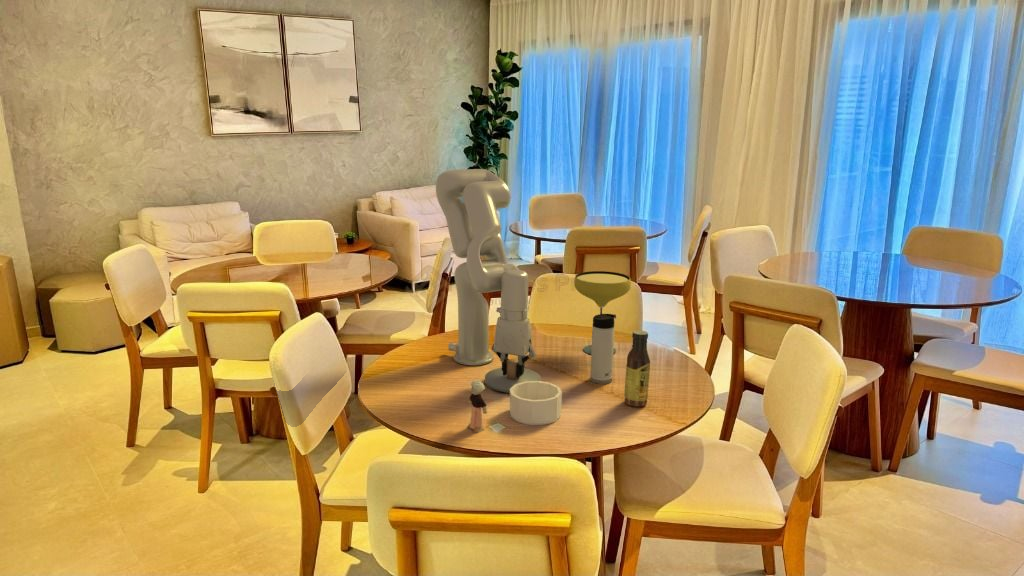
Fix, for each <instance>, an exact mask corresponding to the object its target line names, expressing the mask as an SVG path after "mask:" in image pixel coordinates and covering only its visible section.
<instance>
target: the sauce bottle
mask: <svg viewBox="0 0 1024 576" xmlns="http://www.w3.org/2000/svg"><path fill="white" fill-rule="evenodd" d="M648 339H649V333H648V332H647V331H645V330H634V331H632V345H631V349H630V350H629V352H628V353H627V357H626V365H625V379H624V403H625V404H626V405H628V406H631V407H634V408H635V407H644V406H646V405H647V403H648V400H649V399H648V398H649V385H650V384H649V383H650V372H651V371H650V370H651V360H650V356H649V353H648V352H649V351H648V349H647V348H648V345H647V343H648Z"/></svg>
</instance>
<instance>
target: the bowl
mask: <svg viewBox="0 0 1024 576" xmlns="http://www.w3.org/2000/svg"><path fill="white" fill-rule="evenodd" d="M562 399H563V391H562V389H561V388H560V387H559V386H558V385H556V384H554V383H551V382H546V381H542V380H540V381H525V382H522V383H518V384H515V385H514V386H513V387H511V388H510V393H509V416H510V418H511V419H512V420H513V421H515V422H517V423H519V424H523V425H528V426H546V425H550V424H553V423H556V422H557V421H559V419H560V418H561V414H562V407H563V406H562V403H563V400H562Z"/></svg>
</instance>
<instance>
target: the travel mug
mask: <svg viewBox="0 0 1024 576" xmlns="http://www.w3.org/2000/svg"><path fill="white" fill-rule="evenodd" d="M615 319H617V315H616V314H615V313H614V314H613V313H602V314H600V313H599V314H595V315H593V317H592V331H591V333H592V334H591V345H592V351H591V355H590V360H591V361H590V380H591V382H592V383H595V384H598V385H599V384H600V385H606V384H609V383H611V382H612V381H613V364H614V354H613V348H614V345H615V344H614V343H615V342H614V341H615Z"/></svg>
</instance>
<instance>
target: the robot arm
mask: <svg viewBox="0 0 1024 576" xmlns="http://www.w3.org/2000/svg"><path fill="white" fill-rule="evenodd" d="M509 188H510V187H508V185H507V183H506V182H505V181H504V180H503V179H501V177H499V176H498V175H496V174H494V173H493V172H492V171H490V170H488V169H486V168H485V169H484V168H473V169H471V168H468V169H465V168H464V169H451V170H446V171H443V172H441V173H440V174H439V175H438V176H437V178H436V181H435V193H436V198H437V202H438V204H439V206H440V208H441V211H442V213H443V214H444V217H445V220H446V225H447V230H448V233H449V238H450V242H451V247H452V250H453V253H454V254H455V256H456V257H457V258H458V259H459V258H460V259H466V261H465V262H462V263H460V264H459V265H458V266H457V267H456V268H455V270H454V275H453V276H454V283H455V287H456V294H457V312H458V313H457V315H458V316H457V318H458V319H457V320H458V321H457V327H458V328H457V329H458V337H457V338H458V343H456V342H449V343H448V347H447V349H448V351H451V352H455V353H454V354H453V360H454V361H455V362H456V363H457V364H460V365H463V366H483V365H486V364H491V362H492V361H493V360H494V359H495V358H494V354H496V357H498V358H499V360H500V362H501V368H502V371H503V375H506V374H507V360H509V359H510V358H509V355H511V356H517V360H518V364H517V366H516V377H517V378H519V377H521V376H522V375H523V373H524V368H525V363H526V362H528V360H531V359H534V358H535V357H536V356H537V353H536V351H535V349H534V348H533V338H532V337H533V335H532V327H531V320H530V318H528V310H529V309H528V307H529V304H528V302H529V280H530V279H529V274H528V273H527V272H526V271H525V270H523V269H519V267H518V266H516V265H515V264H513V263H509V262H508V258H507V253H506V249H505V245H504V242H503V237H502V235H501V232H502V224H501V221H500V218H499V214H498V211H497V210H503V209H506V208H508V207H509V206H510V203H511V199H512V197H511V192H510V189H509ZM461 198H462V199H461ZM482 257H485V259H481V258H482ZM494 292H500V307H496V312H497V313H499V316H498V317H497V319H496V320H497V321H496V325H495V331H494V339H493V340H494V341H493V343H492V346H491V347H490V345H489V344H490V340H489V339H490V338H489V334H490V333H489V332H490V330H489V329H490V326H489V324H490V323H489V321H490V319H489V309H490V307H489V303H488V301H487V299H486V298H485V297H484V296H483V294H484V293H485V294H486V293H494ZM489 347H490V350H491V351H492V352H494V353H492V352H491V351H489Z"/></svg>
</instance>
